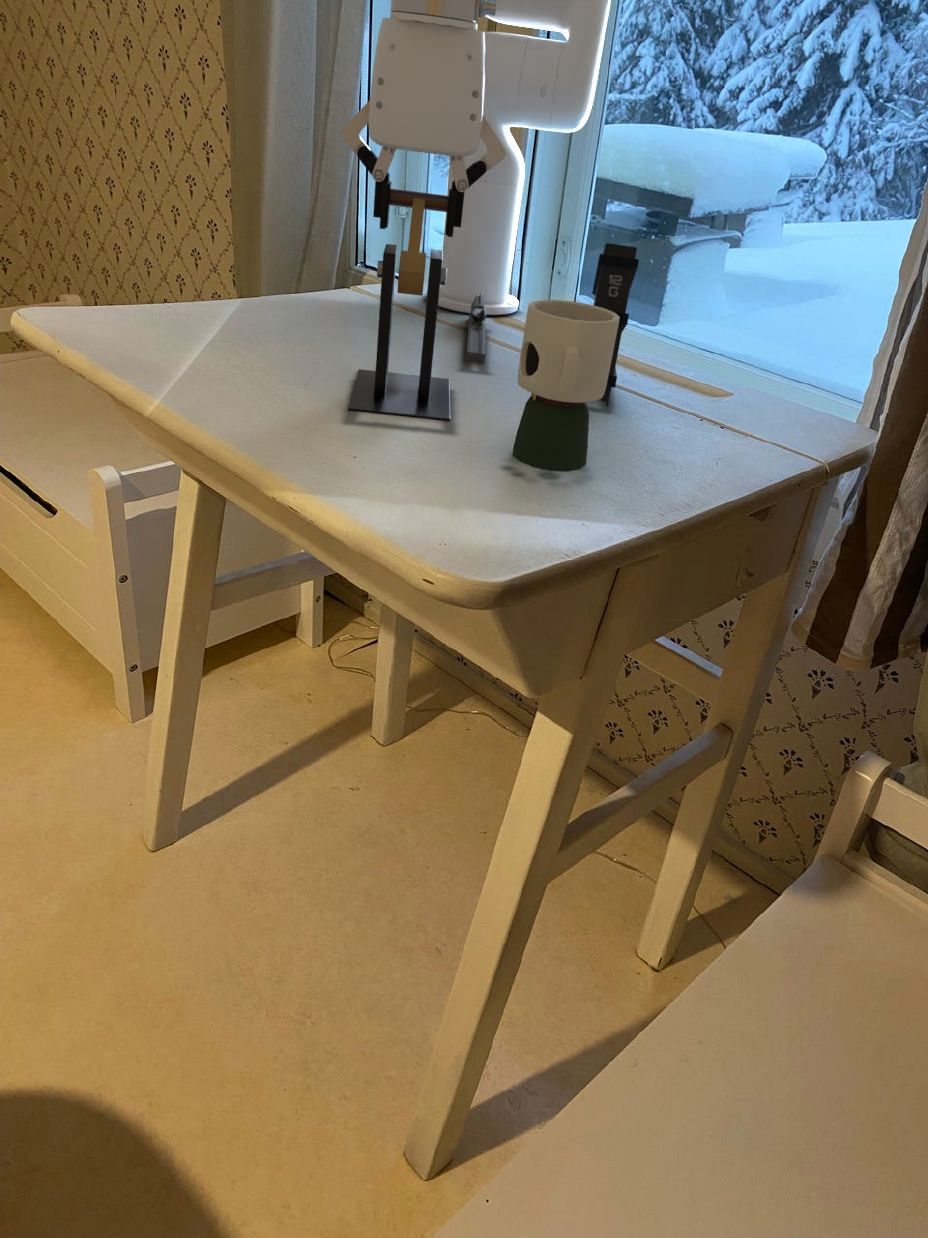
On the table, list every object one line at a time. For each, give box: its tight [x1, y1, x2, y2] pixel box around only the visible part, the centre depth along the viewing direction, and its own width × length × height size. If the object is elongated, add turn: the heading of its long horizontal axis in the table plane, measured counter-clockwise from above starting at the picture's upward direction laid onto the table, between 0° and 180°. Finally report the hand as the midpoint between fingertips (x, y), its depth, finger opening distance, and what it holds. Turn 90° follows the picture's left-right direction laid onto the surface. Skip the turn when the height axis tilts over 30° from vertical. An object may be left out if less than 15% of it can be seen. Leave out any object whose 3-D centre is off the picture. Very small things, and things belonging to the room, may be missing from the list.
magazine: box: [591, 242, 640, 408], centre depth 95 cm, size 4×13×15 cm, turn 172°
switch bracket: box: [347, 243, 451, 422], centre depth 84 cm, size 12×9×14 cm
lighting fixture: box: [465, 294, 487, 364], centre depth 107 cm, size 19×3×4 cm, turn 179°
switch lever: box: [389, 188, 449, 297], centre depth 84 cm, size 13×6×2 cm, turn 1°
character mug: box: [512, 299, 620, 473], centre depth 75 cm, size 11×7×13 cm, turn 177°
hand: (416, 228), depth 89 cm, fingers closed on switch lever, 5 cm apart
